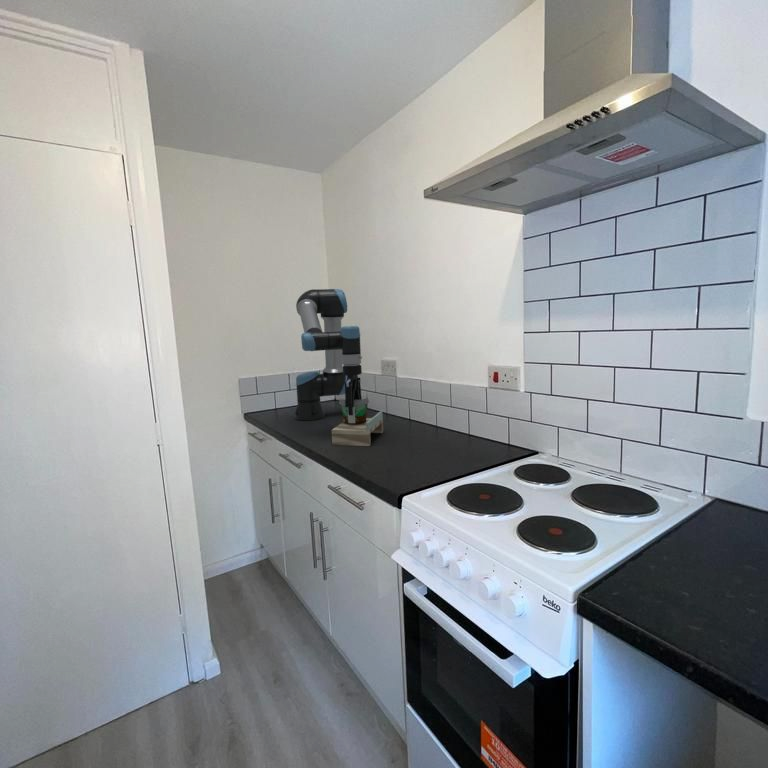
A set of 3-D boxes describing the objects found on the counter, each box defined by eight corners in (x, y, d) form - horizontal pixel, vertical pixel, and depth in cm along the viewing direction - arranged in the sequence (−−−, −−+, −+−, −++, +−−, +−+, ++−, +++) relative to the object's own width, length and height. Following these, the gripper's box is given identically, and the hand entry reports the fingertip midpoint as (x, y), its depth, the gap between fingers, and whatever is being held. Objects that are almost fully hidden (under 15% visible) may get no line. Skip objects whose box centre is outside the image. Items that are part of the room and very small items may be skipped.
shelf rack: (350, 431, 184) (349, 411, 183) (383, 431, 180) (382, 411, 179) (332, 445, 163) (331, 422, 162) (369, 446, 159) (368, 423, 158)
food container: (339, 425, 168) (337, 401, 166) (340, 422, 174) (338, 398, 173) (369, 424, 168) (368, 399, 167) (369, 420, 174) (368, 397, 173)
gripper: (353, 367, 158) (356, 426, 161) (367, 362, 177) (370, 415, 180) (334, 367, 159) (337, 426, 163) (350, 362, 178) (353, 415, 182)
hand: (354, 420), depth 171 cm, fingers closed on food container, 7 cm apart
